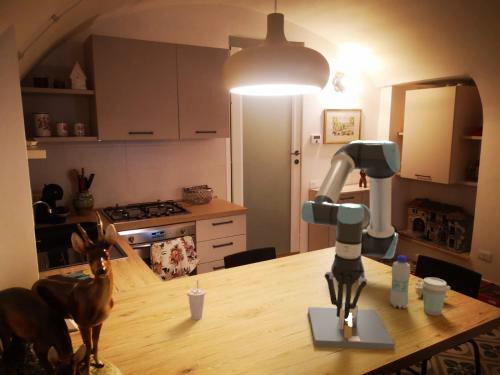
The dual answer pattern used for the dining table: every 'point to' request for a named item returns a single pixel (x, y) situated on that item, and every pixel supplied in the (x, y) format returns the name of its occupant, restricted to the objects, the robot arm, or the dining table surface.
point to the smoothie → (196, 302)
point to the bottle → (400, 282)
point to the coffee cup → (433, 295)
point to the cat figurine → (420, 289)
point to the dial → (350, 321)
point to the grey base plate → (363, 335)
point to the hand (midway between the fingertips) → (341, 326)
